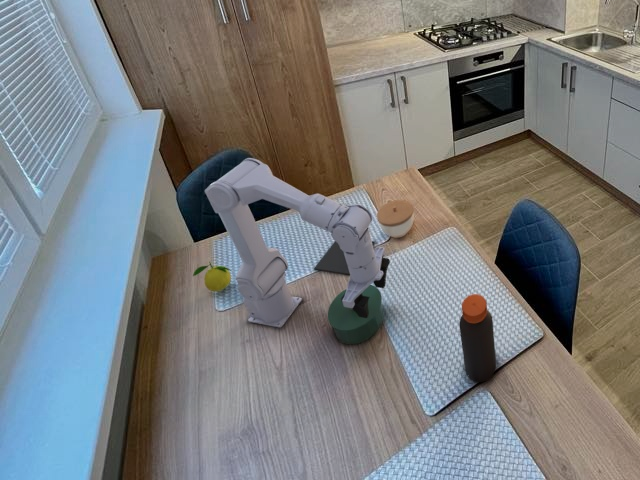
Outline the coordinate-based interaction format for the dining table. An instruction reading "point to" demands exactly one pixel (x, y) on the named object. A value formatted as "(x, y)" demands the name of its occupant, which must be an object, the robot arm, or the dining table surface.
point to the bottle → (477, 338)
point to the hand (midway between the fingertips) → (372, 300)
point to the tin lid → (348, 317)
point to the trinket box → (396, 218)
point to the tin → (361, 330)
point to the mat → (334, 261)
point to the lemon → (215, 277)
